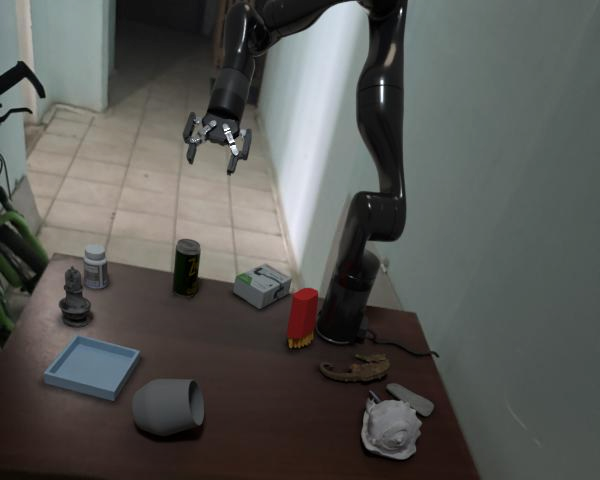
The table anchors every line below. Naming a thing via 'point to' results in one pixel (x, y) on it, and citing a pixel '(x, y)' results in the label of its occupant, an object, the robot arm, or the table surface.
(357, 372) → the seahorse
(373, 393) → the pen
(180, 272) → the beer can
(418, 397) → the decorative stone
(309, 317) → the french fries
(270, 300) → the ink box
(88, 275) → the pill bottle
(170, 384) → the cup
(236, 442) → the table surface
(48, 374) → the tray
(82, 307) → the grey chess piece
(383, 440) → the seashell
